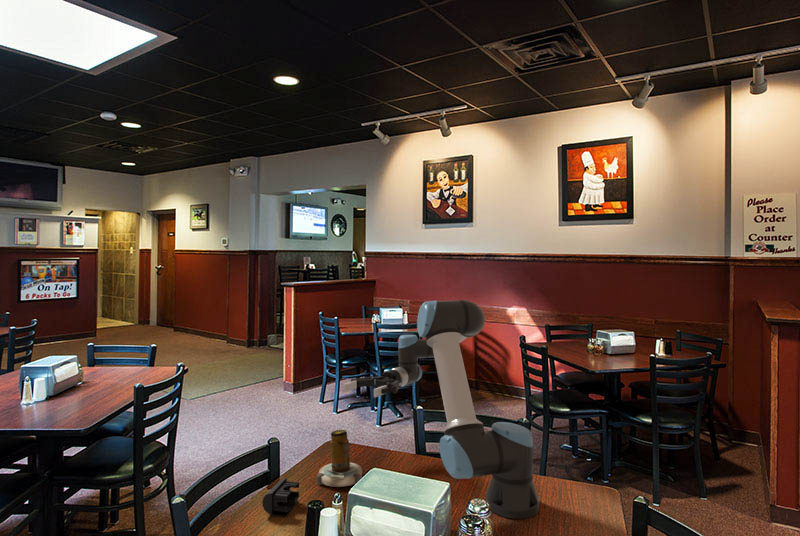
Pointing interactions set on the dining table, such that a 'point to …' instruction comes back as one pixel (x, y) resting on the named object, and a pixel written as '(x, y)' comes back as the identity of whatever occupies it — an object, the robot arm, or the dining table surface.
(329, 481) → the base
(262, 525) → the dining table surface
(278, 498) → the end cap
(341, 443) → the condiment
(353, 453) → the dining table surface
